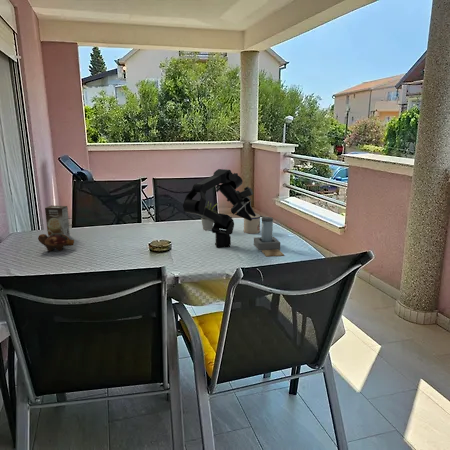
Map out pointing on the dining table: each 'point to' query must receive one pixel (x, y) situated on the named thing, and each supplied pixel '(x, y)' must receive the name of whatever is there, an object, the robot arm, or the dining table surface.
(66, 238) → the decorative turtle
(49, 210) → the coffee box
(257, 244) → the frame
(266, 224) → the ball
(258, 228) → the teacup with lid
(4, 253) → the dining table surface
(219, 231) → the robot arm
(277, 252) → the mat
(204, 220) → the house plant
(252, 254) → the dining table surface
